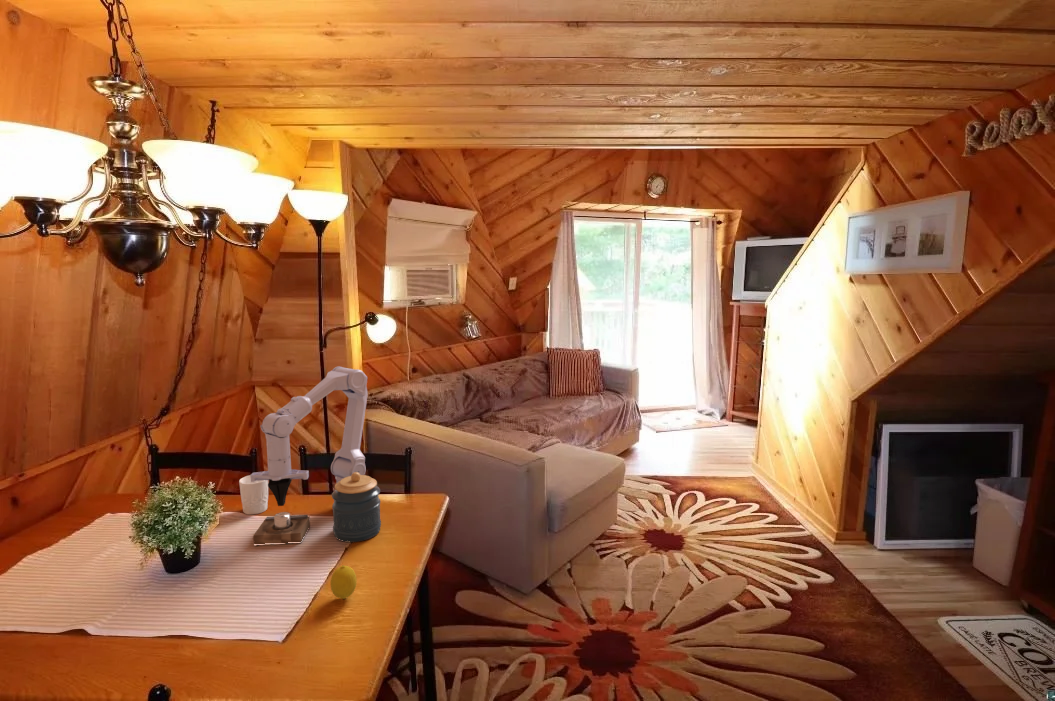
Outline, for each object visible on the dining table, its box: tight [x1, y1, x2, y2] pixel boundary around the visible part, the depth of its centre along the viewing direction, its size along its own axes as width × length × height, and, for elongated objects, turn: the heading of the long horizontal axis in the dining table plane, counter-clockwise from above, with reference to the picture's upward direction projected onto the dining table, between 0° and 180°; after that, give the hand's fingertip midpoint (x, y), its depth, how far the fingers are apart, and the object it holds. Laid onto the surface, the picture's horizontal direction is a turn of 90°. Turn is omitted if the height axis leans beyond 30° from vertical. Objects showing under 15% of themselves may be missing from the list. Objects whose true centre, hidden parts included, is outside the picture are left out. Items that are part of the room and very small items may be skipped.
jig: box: [252, 514, 311, 545], centre depth 149 cm, size 12×10×4 cm
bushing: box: [274, 511, 291, 530], centre depth 149 cm, size 4×4×6 cm
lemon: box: [330, 564, 357, 600], centre depth 121 cm, size 6×6×8 cm
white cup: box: [238, 474, 269, 515], centre depth 164 cm, size 8×8×10 cm
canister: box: [331, 472, 382, 543], centre depth 151 cm, size 13×13×18 cm
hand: (281, 504), depth 148 cm, fingers closed
